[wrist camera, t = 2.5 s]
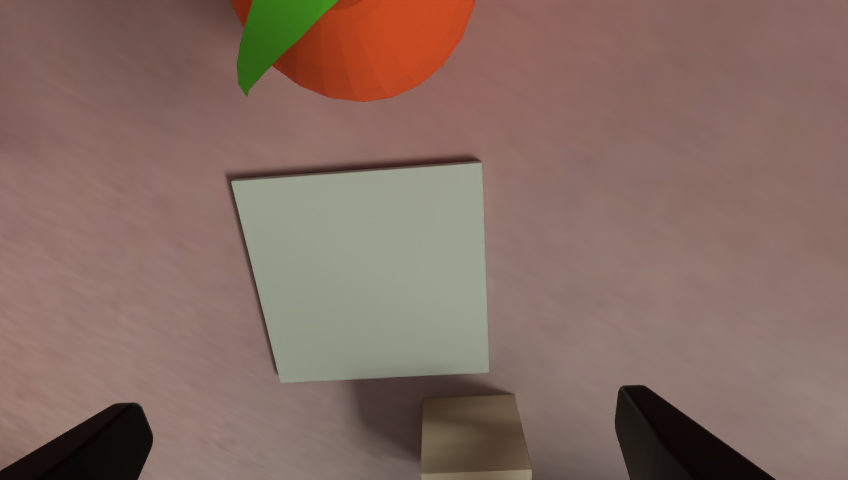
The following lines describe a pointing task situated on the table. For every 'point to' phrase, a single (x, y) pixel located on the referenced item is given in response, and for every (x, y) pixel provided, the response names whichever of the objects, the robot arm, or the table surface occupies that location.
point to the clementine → (349, 43)
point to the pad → (370, 270)
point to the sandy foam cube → (473, 439)
